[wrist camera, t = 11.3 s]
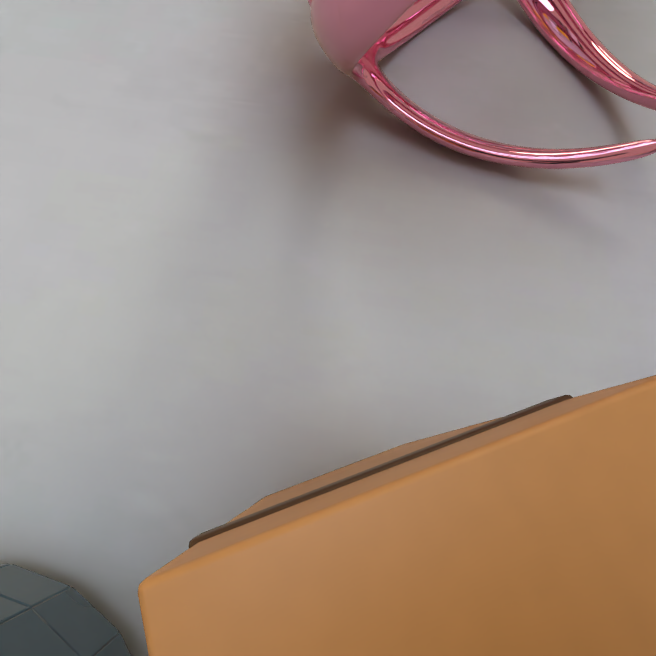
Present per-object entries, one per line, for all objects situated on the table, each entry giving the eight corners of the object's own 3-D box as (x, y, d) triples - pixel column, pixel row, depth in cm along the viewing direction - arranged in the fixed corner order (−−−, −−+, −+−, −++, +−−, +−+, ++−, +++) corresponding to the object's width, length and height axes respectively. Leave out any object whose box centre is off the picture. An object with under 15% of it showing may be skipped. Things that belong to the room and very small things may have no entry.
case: (453, 560, 14) (1043, 901, 3) (298, 628, 13) (282, 1539, 2) (406, 441, 15) (686, 358, 4) (261, 496, 14) (121, 579, 3)
